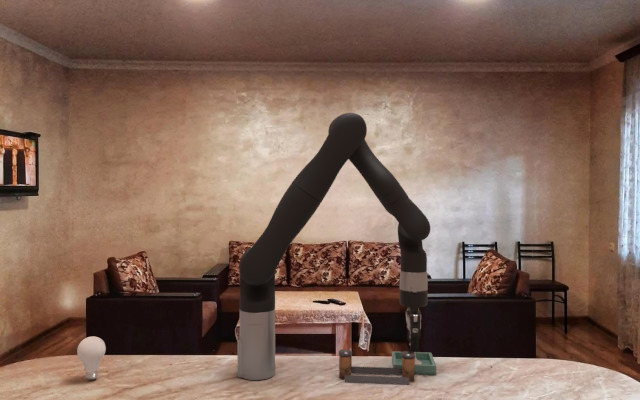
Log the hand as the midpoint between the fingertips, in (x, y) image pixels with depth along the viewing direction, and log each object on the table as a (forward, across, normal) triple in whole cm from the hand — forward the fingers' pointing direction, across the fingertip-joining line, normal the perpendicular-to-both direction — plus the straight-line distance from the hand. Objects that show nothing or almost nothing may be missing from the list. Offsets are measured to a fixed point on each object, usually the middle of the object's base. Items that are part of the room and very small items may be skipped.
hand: (413, 346), depth 142 cm
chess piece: (+5, 0, 0) cm, 5 cm away
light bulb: (+6, +18, -82) cm, 84 cm away
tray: (+6, 0, 0) cm, 6 cm away
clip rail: (+6, +10, -10) cm, 15 cm away
